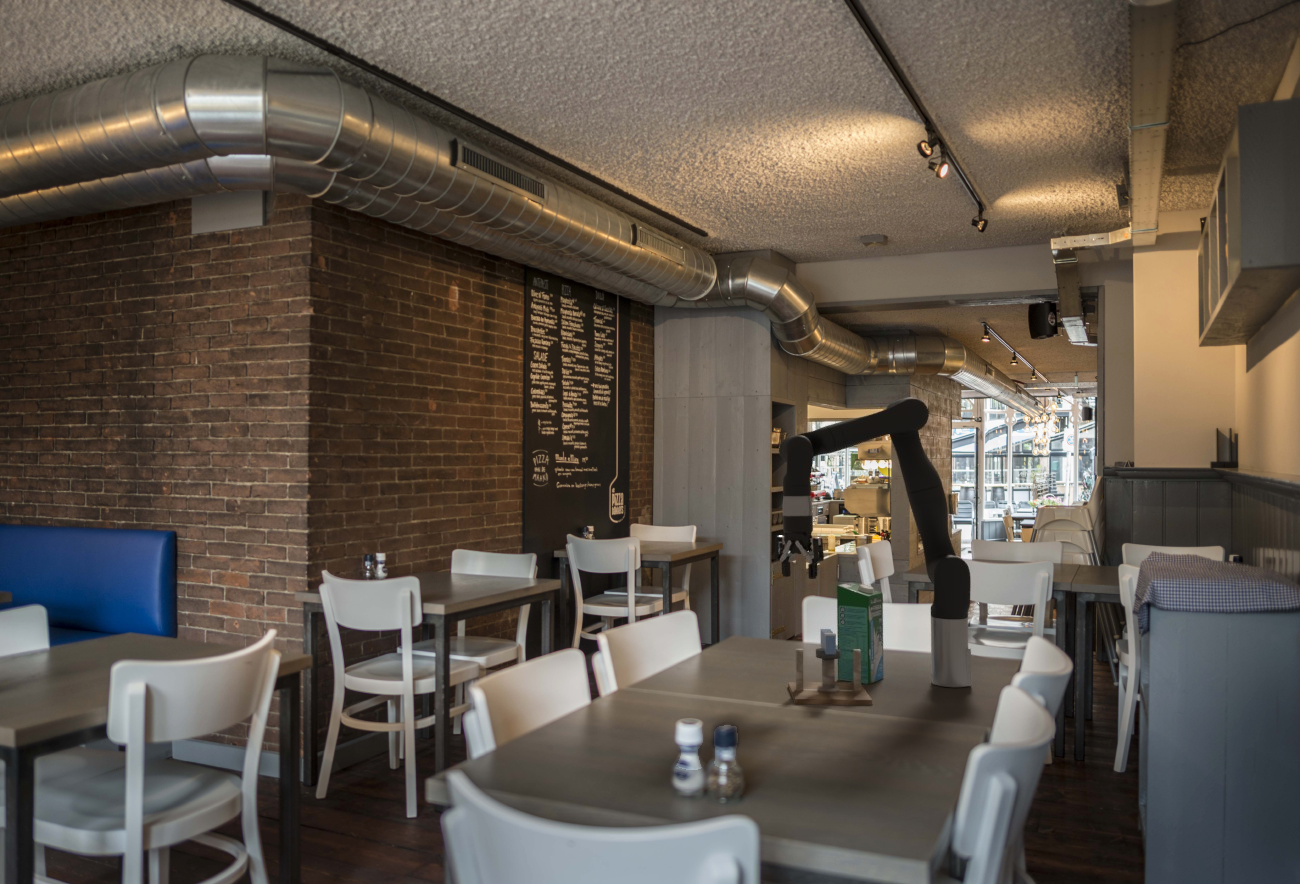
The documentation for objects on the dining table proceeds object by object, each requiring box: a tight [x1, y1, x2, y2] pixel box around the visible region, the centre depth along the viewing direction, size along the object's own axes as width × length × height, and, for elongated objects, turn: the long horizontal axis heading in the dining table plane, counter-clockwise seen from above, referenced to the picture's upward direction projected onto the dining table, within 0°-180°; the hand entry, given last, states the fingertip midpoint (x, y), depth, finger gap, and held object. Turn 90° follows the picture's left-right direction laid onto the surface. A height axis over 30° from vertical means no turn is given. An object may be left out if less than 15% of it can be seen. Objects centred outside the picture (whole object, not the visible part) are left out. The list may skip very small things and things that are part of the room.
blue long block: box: [815, 628, 841, 660], centre depth 229 cm, size 6×10×6 cm, turn 177°
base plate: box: [787, 648, 873, 706], centre depth 229 cm, size 18×18×11 cm
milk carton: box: [836, 582, 885, 685], centre depth 248 cm, size 9×9×25 cm
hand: (799, 577), depth 237 cm, fingers open, 8 cm apart
